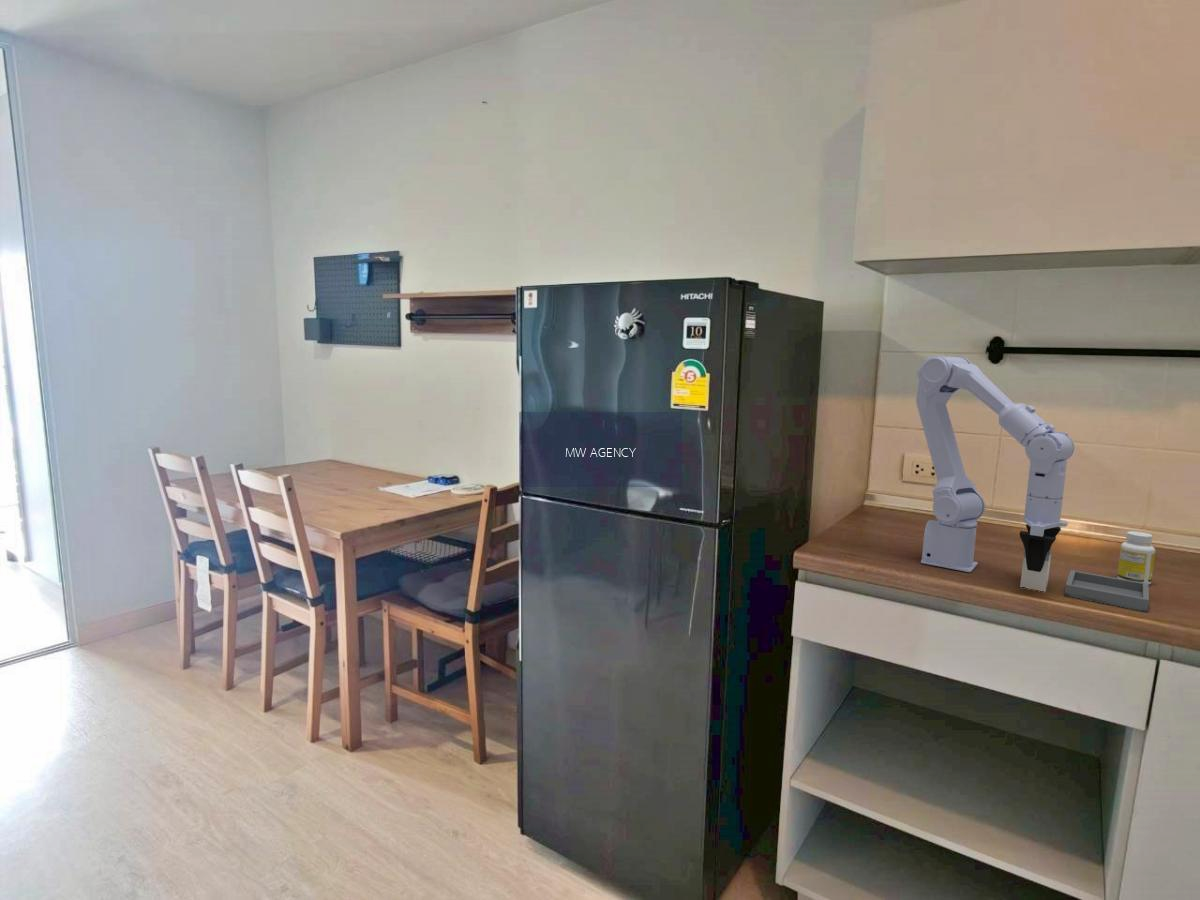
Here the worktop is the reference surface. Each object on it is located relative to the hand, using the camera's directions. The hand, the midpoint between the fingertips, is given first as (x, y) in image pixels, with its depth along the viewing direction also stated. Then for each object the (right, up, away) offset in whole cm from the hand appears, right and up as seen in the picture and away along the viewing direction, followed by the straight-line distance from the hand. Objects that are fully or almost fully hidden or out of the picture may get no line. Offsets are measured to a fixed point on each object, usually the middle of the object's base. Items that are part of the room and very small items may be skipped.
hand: (1036, 566), depth 129 cm
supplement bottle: (+23, -4, +6) cm, 25 cm away
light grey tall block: (0, -4, +1) cm, 4 cm away
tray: (+11, -5, -3) cm, 12 cm away
